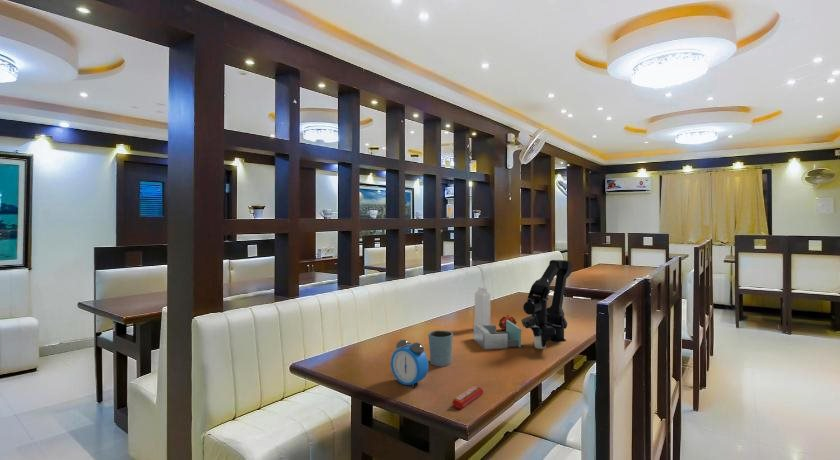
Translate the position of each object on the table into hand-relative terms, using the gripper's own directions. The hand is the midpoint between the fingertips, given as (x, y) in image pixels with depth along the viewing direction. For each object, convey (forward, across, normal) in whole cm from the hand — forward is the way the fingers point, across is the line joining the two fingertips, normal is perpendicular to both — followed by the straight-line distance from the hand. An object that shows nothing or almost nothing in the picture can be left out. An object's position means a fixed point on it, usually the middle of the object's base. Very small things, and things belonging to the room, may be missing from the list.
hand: (540, 344), depth 187 cm
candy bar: (+2, +49, -47) cm, 68 cm away
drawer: (+1, -9, -16) cm, 18 cm away
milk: (+1, -34, -17) cm, 38 cm away
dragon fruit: (+1, -29, -5) cm, 29 cm away
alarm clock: (+1, +32, -64) cm, 72 cm away
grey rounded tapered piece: (+1, 0, 0) cm, 1 cm away
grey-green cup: (+1, +13, -49) cm, 51 cm away
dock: (+1, -9, -21) cm, 23 cm away
